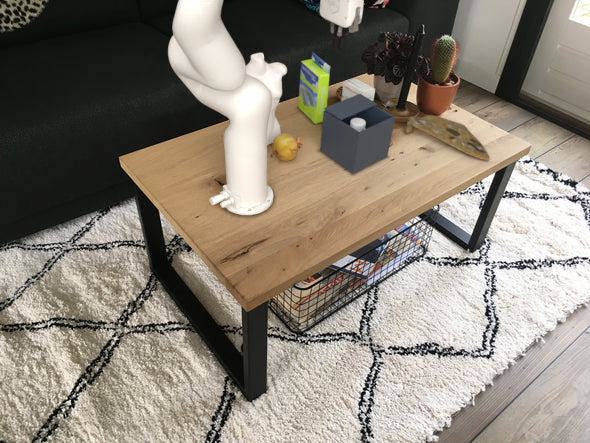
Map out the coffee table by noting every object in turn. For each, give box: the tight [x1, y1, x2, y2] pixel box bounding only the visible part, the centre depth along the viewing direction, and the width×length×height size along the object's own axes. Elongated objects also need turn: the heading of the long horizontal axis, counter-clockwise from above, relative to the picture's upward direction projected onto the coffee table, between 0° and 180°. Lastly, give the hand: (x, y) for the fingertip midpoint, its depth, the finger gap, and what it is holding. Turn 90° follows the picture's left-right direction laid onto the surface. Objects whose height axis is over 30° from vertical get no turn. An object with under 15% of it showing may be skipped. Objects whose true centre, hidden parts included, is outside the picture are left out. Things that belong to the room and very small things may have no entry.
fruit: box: [270, 133, 303, 162], centre depth 132 cm, size 7×7×10 cm
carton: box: [319, 105, 396, 175], centre depth 133 cm, size 13×13×12 cm
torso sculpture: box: [245, 52, 288, 146], centre depth 131 cm, size 18×10×25 cm, turn 124°
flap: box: [324, 94, 378, 120], centre depth 130 cm, size 13×6×1 cm, turn 129°
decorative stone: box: [404, 114, 491, 161], centre depth 144 cm, size 25×15×5 cm, turn 51°
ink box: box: [340, 77, 376, 102], centre depth 145 cm, size 8×5×12 cm, turn 39°
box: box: [298, 52, 331, 125], centre depth 145 cm, size 10×4×17 cm, turn 29°
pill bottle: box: [350, 118, 366, 132], centre depth 133 cm, size 5×5×10 cm
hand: (337, 49), depth 122 cm, fingers closed
